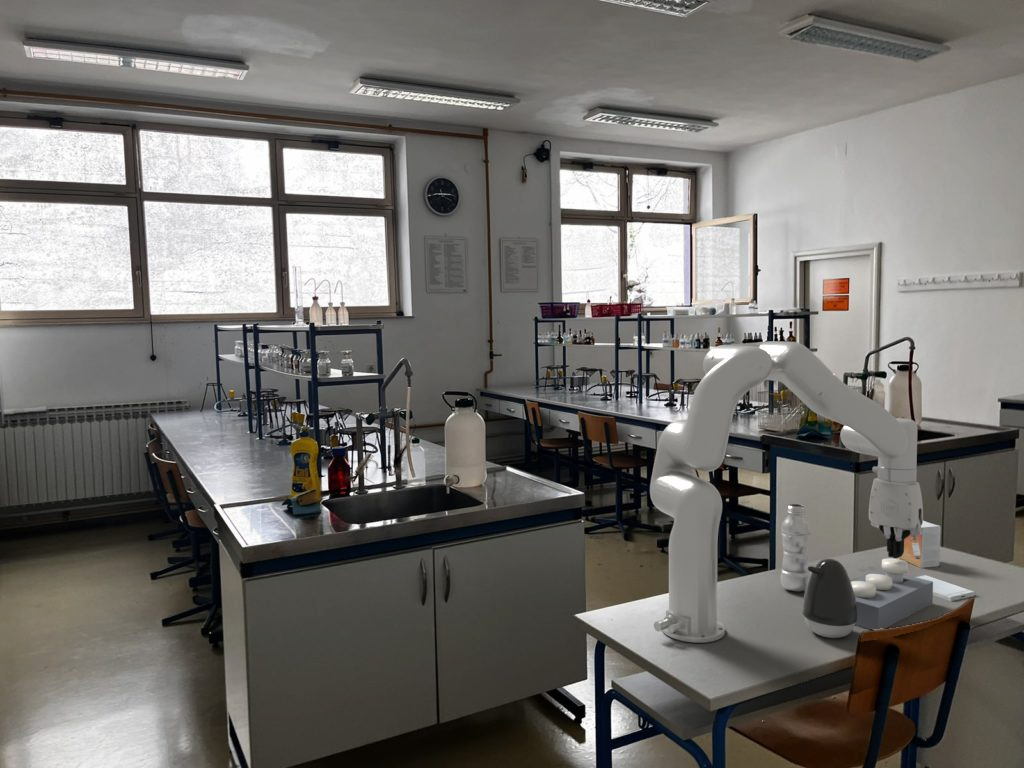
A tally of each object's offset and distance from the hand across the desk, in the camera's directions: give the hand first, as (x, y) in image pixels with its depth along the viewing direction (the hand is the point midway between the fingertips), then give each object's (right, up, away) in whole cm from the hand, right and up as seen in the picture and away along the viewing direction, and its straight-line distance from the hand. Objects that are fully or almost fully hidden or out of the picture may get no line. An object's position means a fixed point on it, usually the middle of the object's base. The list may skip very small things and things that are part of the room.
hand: (895, 556), depth 167 cm
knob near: (-11, -10, -8) cm, 17 cm away
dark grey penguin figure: (-21, -12, -16) cm, 29 cm away
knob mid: (-5, -10, -3) cm, 12 cm away
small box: (+20, -8, +27) cm, 35 cm away
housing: (-5, -11, -3) cm, 12 cm away
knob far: (0, -7, +1) cm, 7 cm away
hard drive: (+14, -10, +8) cm, 19 cm away
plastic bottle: (-19, -10, +9) cm, 23 cm away
